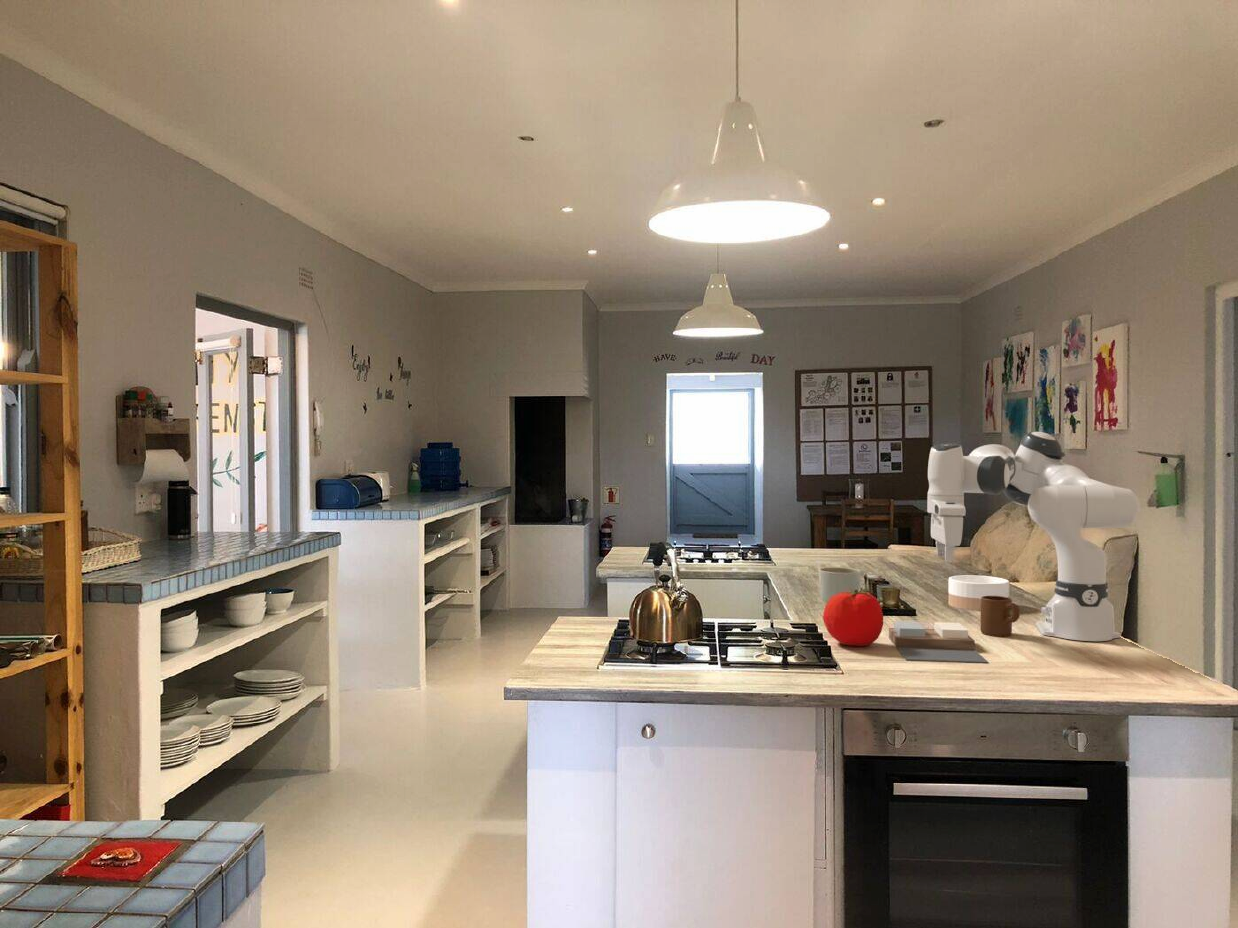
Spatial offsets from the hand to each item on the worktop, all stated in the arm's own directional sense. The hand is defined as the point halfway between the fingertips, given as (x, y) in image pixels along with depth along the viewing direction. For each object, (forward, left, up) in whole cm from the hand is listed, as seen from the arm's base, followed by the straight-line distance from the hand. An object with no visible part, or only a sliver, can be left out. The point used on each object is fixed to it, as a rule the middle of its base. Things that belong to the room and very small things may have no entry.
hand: (944, 559), depth 230 cm
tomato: (+14, -25, -20) cm, 35 cm away
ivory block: (+10, -1, -17) cm, 20 cm away
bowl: (-45, +20, -20) cm, 53 cm away
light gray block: (+10, -11, -17) cm, 23 cm away
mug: (-2, +15, -20) cm, 25 cm away
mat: (+23, -6, -20) cm, 31 cm away
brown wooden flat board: (+11, -6, -20) cm, 23 cm away
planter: (-40, -22, -20) cm, 50 cm away
